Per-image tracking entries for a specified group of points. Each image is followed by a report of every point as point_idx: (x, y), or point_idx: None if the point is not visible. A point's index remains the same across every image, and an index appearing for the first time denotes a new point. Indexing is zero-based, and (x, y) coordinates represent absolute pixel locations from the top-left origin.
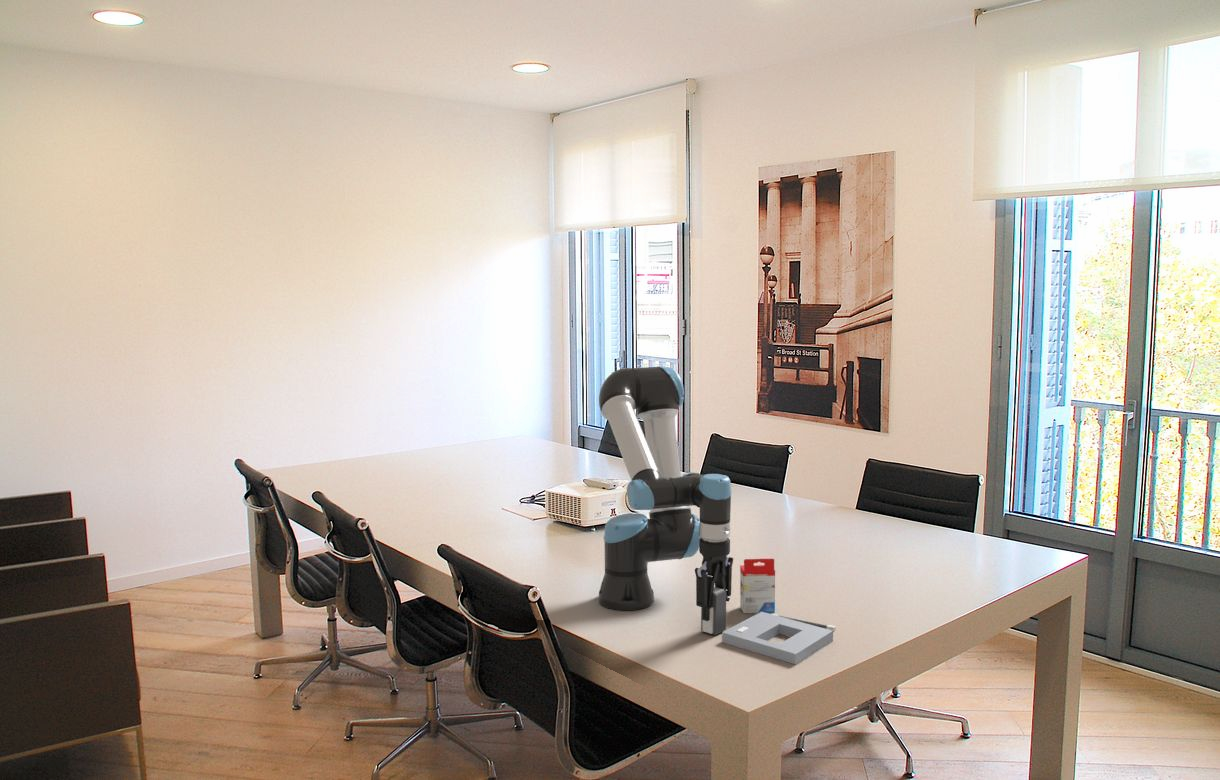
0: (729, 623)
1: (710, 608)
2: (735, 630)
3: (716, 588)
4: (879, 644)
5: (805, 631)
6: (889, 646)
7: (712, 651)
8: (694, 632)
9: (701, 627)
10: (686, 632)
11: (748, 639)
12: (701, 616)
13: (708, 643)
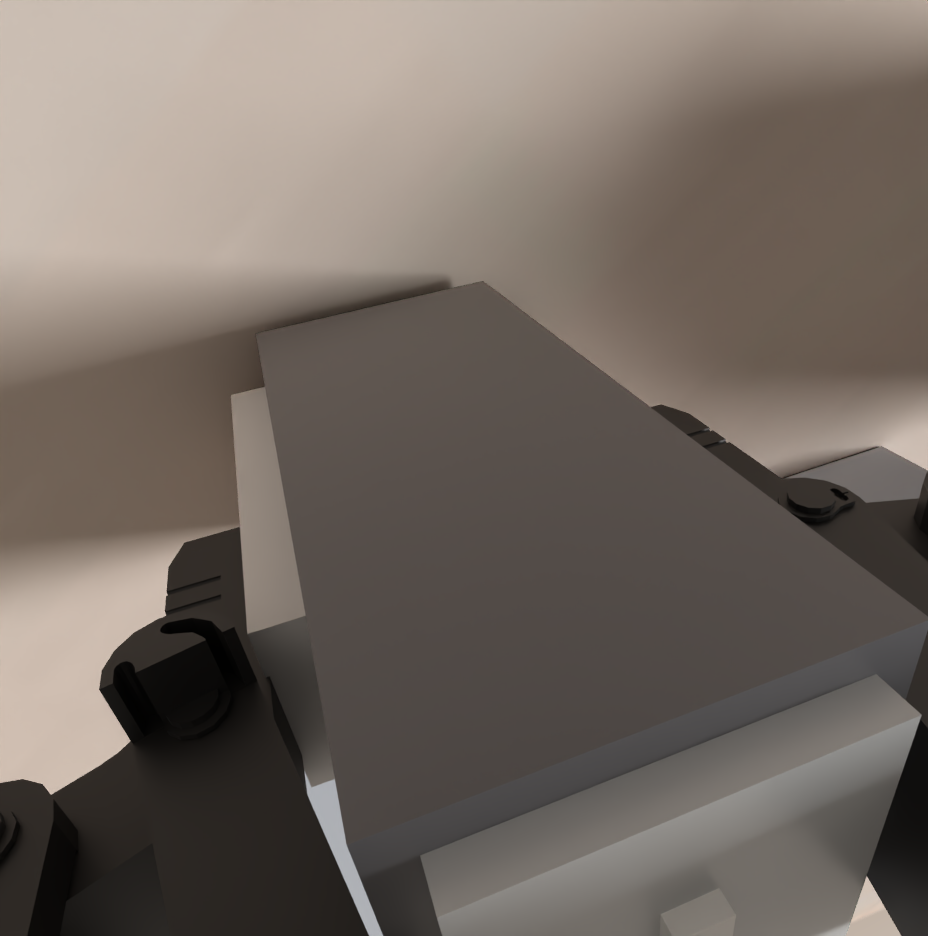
0: (689, 320)
1: (302, 764)
2: None
3: (813, 877)
4: (858, 900)
5: None
6: (856, 919)
7: (23, 769)
8: (169, 275)
9: (261, 352)
10: (53, 198)
11: (360, 903)
12: (271, 421)
13: (113, 615)
